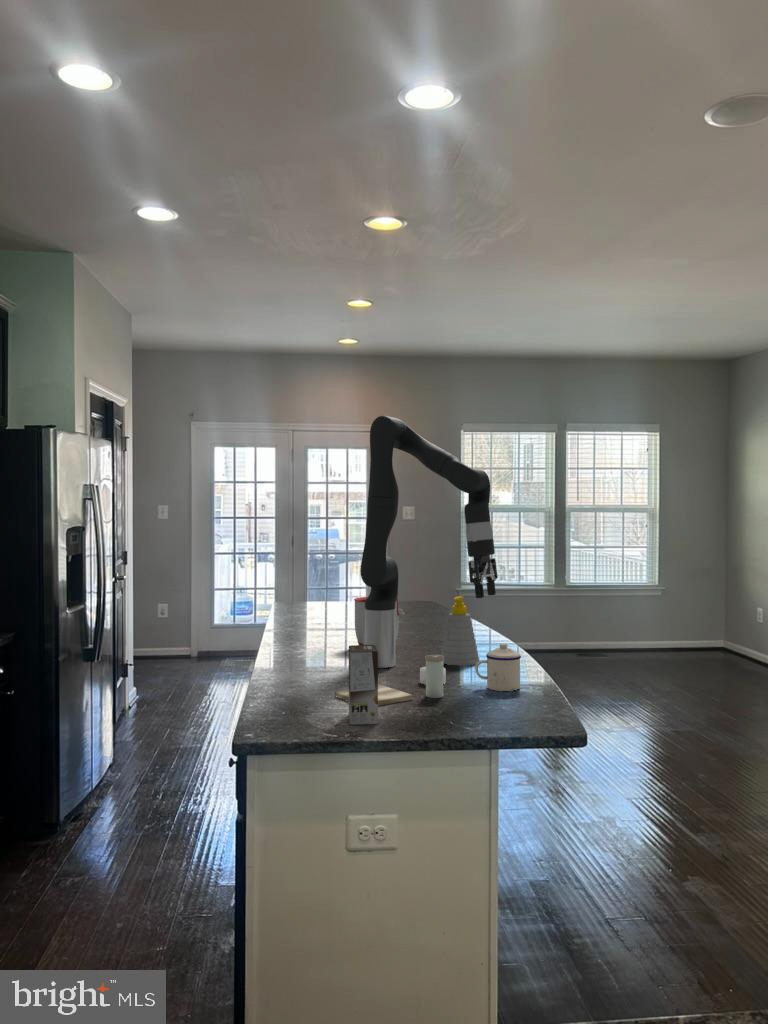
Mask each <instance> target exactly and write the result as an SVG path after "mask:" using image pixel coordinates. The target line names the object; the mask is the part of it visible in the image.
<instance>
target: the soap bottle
mask: <svg viewBox="0 0 768 1024" xmlns="http://www.w3.org/2000/svg"><path fill="white" fill-rule="evenodd" d="M463 600H464V596H455V597H454V598H453V601H455V603H454V605H452V606H451V607H452V609H451V611H452V612H451V613H448V615H447V620H446V626H445V632H444V635H443V636H444V638H443V641H442V647H441V651H440V655H442V656H444V660H443V665H444V664H447V665H446V666H450V665H459V666H458V667H469V666H468V665H472V666H476V664H477V662H479V661H481V660H480V656H479V651H478V647H477V646H478V645H477V642H476V638H475V637H476V636H475V632H474V626H473V623H472V622H473V621H472V618H471V617H472V616H471V614H470V613H467V606H466V605H465V603H464V602H463ZM465 665H467V666H465Z"/></svg>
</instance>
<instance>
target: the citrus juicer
mask: <svg viewBox="0 0 768 1024" xmlns="http://www.w3.org/2000/svg"><path fill="white" fill-rule="evenodd" d="M367 597H368V596H363V597H362V596H361V597H355V598H353V601H354V630H355V635H356V636H355V637H356V640H357V643H358V644H357V645H364V633H365V600H366V599H367ZM399 615H405V613H404V610H403V609H402V608H400V607H399V600H398V597H397V600H396V603H395V644H396V642H397V639H398V633H399V626H400V621H399V620H400V619H399V617H400V616H399Z"/></svg>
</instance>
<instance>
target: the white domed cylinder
mask: <svg viewBox="0 0 768 1024" xmlns="http://www.w3.org/2000/svg"><path fill="white" fill-rule="evenodd" d="M446 674H447V670H446V667H444V666H443V684H444V685H446V684H445V683H446V682H447V676H446ZM420 683H421V684H420ZM419 684H420V685H422V684H425V685H424V686H426V666H422V667H420V668H419Z"/></svg>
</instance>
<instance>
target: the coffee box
mask: <svg viewBox="0 0 768 1024" xmlns="http://www.w3.org/2000/svg"><path fill="white" fill-rule="evenodd" d="M378 685H379V668H378V651H377V648H376V646H375V645H359V644H356V645H352V644H351V645H350V644H349V645H348V690H349V702H348V718H349V725H351V726H352V725H353V726H354V725H357V726H358V725H377V724H378V723H379V706H378Z"/></svg>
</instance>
